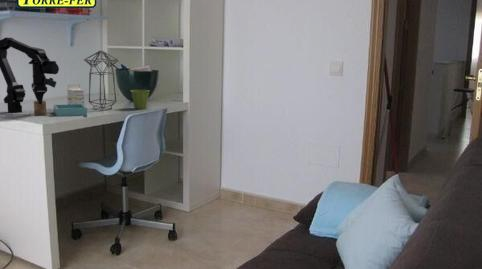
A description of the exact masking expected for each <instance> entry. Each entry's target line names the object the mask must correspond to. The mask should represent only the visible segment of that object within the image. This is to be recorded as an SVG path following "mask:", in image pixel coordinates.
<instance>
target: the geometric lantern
mask: <svg viewBox="0 0 482 269" xmlns="http://www.w3.org/2000/svg"><path fill="white" fill-rule="evenodd" d="M93 56H94V57H93ZM92 57H93V58H92ZM89 58H92V59H89ZM111 58H113V59H111ZM83 61H84V62H86V63H87V64H88V65H89V66H90V67H89V68H90V70H89V74H88V75H89V81H88V84H89V85H88V86H89V88H88V103H89V104H90V105H91V106H92V107H93V108H92V109H93V110H95V111H96V110H98V111H102V109H105V111H108V110H109V111H110V110H113V109H112V108H113V105H115V104H116V103H117V96H116V93H117V92H116V84H115V83H116V82H115V81H116V80H115V72H114V71H115V70H114V65H115V64H116V63H118V62H119V59H118V58H116V57H115V56H112V55H110V54H109V53H107V52H105V50H98V51H96V52H95V53H92V55H90V56H88V57H85V58H84V59H83ZM101 62H102V63H104V64H105V68H104V69H103V71H102V70H101V68H99V66H98V65H99V64H100V63H101ZM110 63H111V64H110ZM93 68H95V69H96V71H93V72H92V70H93ZM109 68H111V71H112V72H110V71H109V72H108V71H107V70H108V69H109ZM98 69H99V70H98ZM95 74H96V75H99V98H98V99H94V100H91V85H92V84H91V82H92V81H91V80H92V75H95ZM107 74H110V75H112V79H113V80H112V81H113V82H112V83H113V92H114V99H113V100H112V99H107V98H106V87H105V76H106V75H107ZM102 80H103V81H102ZM102 82H103V83H102ZM102 84H103V99H102V88H101V87H102ZM97 101H99V102H97ZM107 101H108V102H107ZM94 104H95V105H94Z"/></svg>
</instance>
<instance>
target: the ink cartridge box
mask: <svg viewBox="0 0 482 269" xmlns="http://www.w3.org/2000/svg"><path fill="white" fill-rule="evenodd" d="M71 104H82V105H84V106H85V89H82V88H81V84H80V83H71V84H70V83H68V84H67V105H71Z"/></svg>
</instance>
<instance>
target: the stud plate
mask: <svg viewBox="0 0 482 269" xmlns="http://www.w3.org/2000/svg"><path fill="white" fill-rule="evenodd" d="M29 115H30V117H51V116H52V114H51V113H50V112H46V115H35V114H34V112H33V113H32V112H31V113H29Z"/></svg>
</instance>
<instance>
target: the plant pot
mask: <svg viewBox="0 0 482 269" xmlns="http://www.w3.org/2000/svg"><path fill="white" fill-rule="evenodd" d="M130 92H131V97H132V100H133V107H134V109H135V110H145V109H147V106H148V100H149V94H150V90H148V89H132V90H130Z"/></svg>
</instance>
